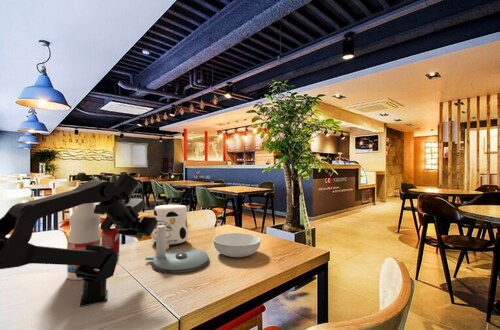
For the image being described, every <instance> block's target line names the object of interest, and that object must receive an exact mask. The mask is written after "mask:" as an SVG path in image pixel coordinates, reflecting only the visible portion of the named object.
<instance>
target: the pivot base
mask: <svg viewBox="0 0 500 330" xmlns="http://www.w3.org/2000/svg"><path fill="white" fill-rule="evenodd" d="M169 249H170V246H169V242H166V251H169ZM175 257H176V258H185V257H187V254H186V253H178V254H176V255H175ZM209 264H210V258H209V256H208V260H207V262H206V263H204V264H203V265H201V266H198V267H195V268H191V269H185V270H165V269H161V268H158V267H156V266H154V264H153V260H151V264H150V265H151V269H153V270H154V271H156V272H158V273H162V274H168V275H170V274H171V275H179V274H181V275H182V274H188V273H193V272H197V271H200V270H202V269H204V268H205V267H207V266H208V265H209Z"/></svg>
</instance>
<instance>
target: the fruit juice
mask: <svg viewBox="0 0 500 330" xmlns="http://www.w3.org/2000/svg"><path fill="white" fill-rule="evenodd" d="M95 205H96V204H95V203H87V204H82V205H79V206H76V207H75V210H74V211H73V213H72V214H71V215H70V217H69V226H70V231H69V232H68V237H67V249H74V250H83V249H86V244H90V245H99V246H101V239H102V230H101V227H100V225H101V224H100V223H101V221H102V218H101V217H102V216H101V214H94V209H95ZM78 266H79V265H67V266H66V267H67V268H66V269H67V272H66V275H67V278H68V279H69V280H70V281H71V280H72V281H79V280H80V281H81V280H82V281H83V278H77V277H76V274H75V270H76V269H77V268H78ZM93 270H97V271H99V270H98V269H93Z"/></svg>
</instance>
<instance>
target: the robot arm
mask: <svg viewBox="0 0 500 330" xmlns="http://www.w3.org/2000/svg"><path fill="white" fill-rule="evenodd" d="M139 185H140V182H139V180H138V179H136V178H134V176H130V175H129V174H128V173H126V172H125V173H120V175H119V176H118V178H117V179H116V180H115V182H114V183H112V182H111V181H110V180H109V181H108V180H93V179H92V180H88V181H86V182H84V183H82V184H78V186H77V187H76V188H74V189H72V190H69V191H65V192H61V193H60V192H59V193H57V194H52V195H49V196H46V197H45V196H44V197H41V198H38V199H34V200H30V201H27V202H17V203H16V204H14V205H12V206H11V207H10V208H9V209H8V210H7V212H6V213H5V214H4V215H3V216H2V217H1V218H0V270H7V269H13V268H19V267H23V266H26V265H30V264H31V265H32V264H36V265H38V264H39V265H40V264H41V265H64V266H65V265H66V266H68V265H79V266H78V268H77V269H76V270H75V274H76V277H77V278H83V280H82V294H81V298H80V302H79V307H85V306H89V305H93V304H98V303H104V302H107V301H108V299H109V297H108V293H109V291H108V289H107V279H109V278H112V277H113V276H114V273H115V270H116V268H117V267H116V266H117V264H118V259H119V258H118V254H117V252H116V251H114V250H113V248H112V247H106V246H101V245H100V246H99V245H90V244H86V249H83V250H74V249H68V248H65V247H64V248H62V247H53V246H43V245H42V246H41V245H35V244H32V243H31V242H30V240H31V239H32V235H33V231H34V228H35V225H36V223H37V222H38V220H40V219H42V218H45V217H48V216H51V215H55V214H57V213H60V212H63V211H66V210H70V209H72V208H76V207H77V206H79V205H82V204H87V203H94V205H95V209H94V214H100V215H103V216H104V215H106V217H105V218H104V219H103V221H102V223H101V224H100V230H101V231H104V232H110V231H111V229H110V227H111V226H112V225H116V226H115V228H116V229H117V230H119V231H118V234H120V235H123V236H127V237H131V238H134V239H142V238H143V237H150V236H152V232H153V230H154V228H155V226H156V225H157V223H158V220H157V219H156V218H155V217H154V216H149V215H146V216H143V218H141V217H139V216H140V214H139V213H140V212H141V211H143V209H145V208H146V205H145V202H144V199H143V198H137V197H134V198H131V197H132V195H133V194H134V193H135V191H136V190H137V189H138V188H139ZM96 203H97V204H96ZM11 232H12V233H11ZM10 233H11V234H10ZM9 234H10V235H9ZM7 235H9V237H7ZM93 269H98V270H99V271H97V270H93Z"/></svg>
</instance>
